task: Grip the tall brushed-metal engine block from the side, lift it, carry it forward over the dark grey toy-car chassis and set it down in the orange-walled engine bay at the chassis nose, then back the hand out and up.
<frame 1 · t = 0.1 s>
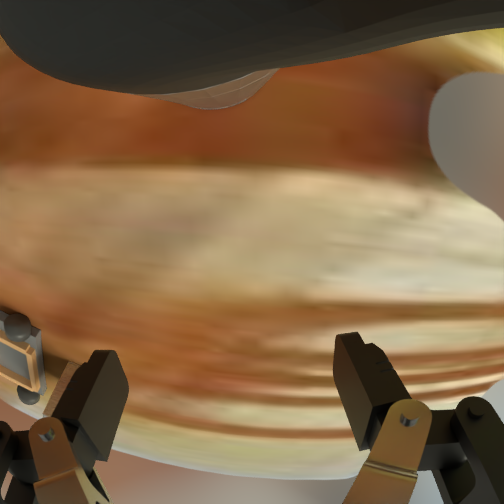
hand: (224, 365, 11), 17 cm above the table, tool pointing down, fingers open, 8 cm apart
engine block: (86, 379, 34), on the table
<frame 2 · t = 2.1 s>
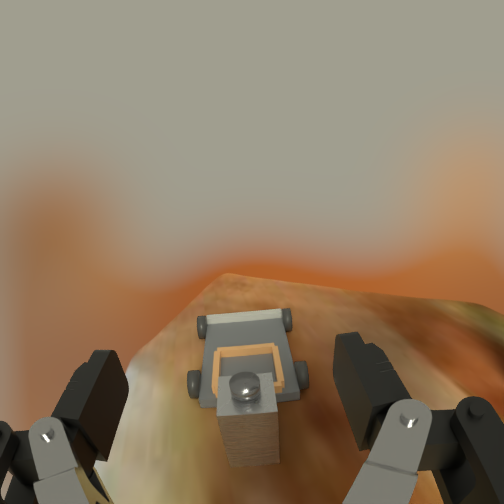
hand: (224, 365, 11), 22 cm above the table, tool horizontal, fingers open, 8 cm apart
chassis: (247, 359, 43), on the table
engine block: (253, 447, 29), on the table
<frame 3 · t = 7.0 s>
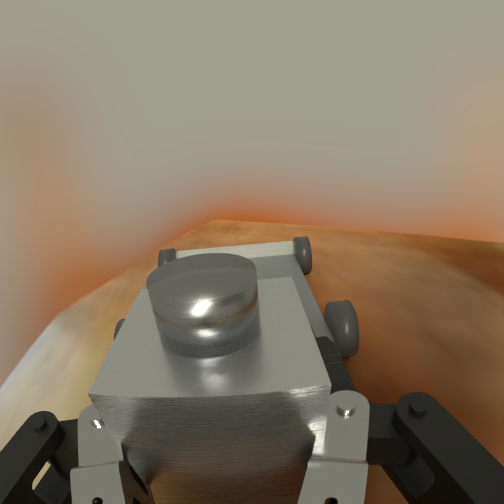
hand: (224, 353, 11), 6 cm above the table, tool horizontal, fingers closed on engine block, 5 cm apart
chassis: (237, 311, 26), on the table
engine block: (243, 485, 11), on the table, touching gripper
when the fingers open (9 cm above the table, at t = 11.9 s): engine block drops 1 cm, resting on chassis.
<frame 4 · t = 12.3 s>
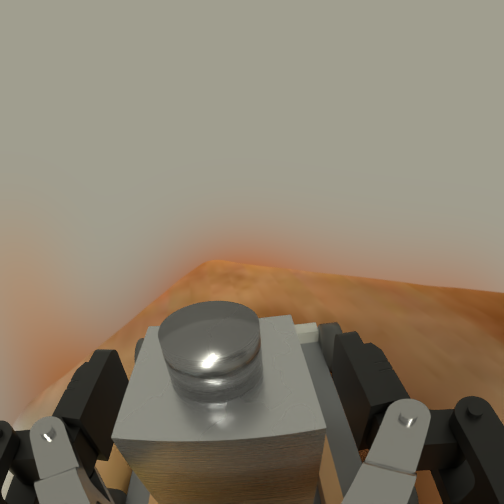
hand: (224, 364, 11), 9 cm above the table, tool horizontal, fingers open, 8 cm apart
chassis: (244, 444, 16), on the table
engine block: (245, 498, 12), point 1 cm above the table, touching chassis
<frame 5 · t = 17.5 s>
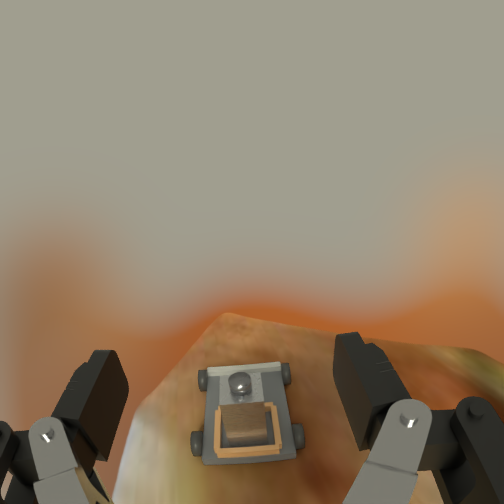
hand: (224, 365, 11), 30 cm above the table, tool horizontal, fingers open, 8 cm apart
chassis: (247, 414, 43), on the table
engine block: (247, 431, 38), point 1 cm above the table, touching chassis
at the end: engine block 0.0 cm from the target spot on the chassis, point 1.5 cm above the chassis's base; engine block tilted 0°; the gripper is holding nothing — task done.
